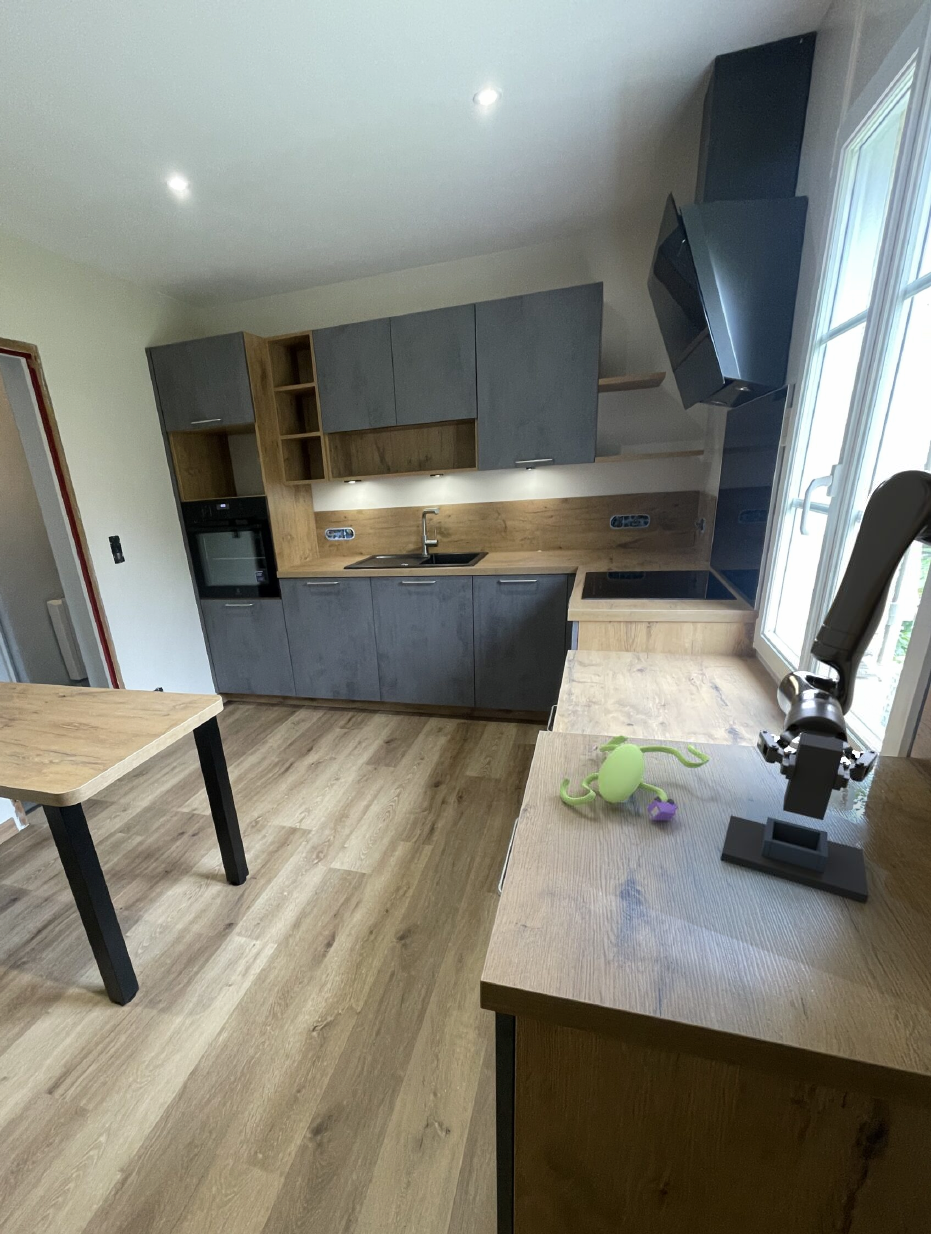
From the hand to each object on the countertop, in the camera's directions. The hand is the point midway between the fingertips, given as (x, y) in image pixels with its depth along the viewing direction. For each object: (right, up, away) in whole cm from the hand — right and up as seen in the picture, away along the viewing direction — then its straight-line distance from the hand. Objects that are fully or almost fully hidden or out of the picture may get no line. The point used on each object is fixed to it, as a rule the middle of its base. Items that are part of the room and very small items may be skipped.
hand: (814, 778), depth 70 cm
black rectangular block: (+2, -5, +4) cm, 7 cm away
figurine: (-12, -5, +27) cm, 30 cm away
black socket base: (+2, -12, +7) cm, 14 cm away
